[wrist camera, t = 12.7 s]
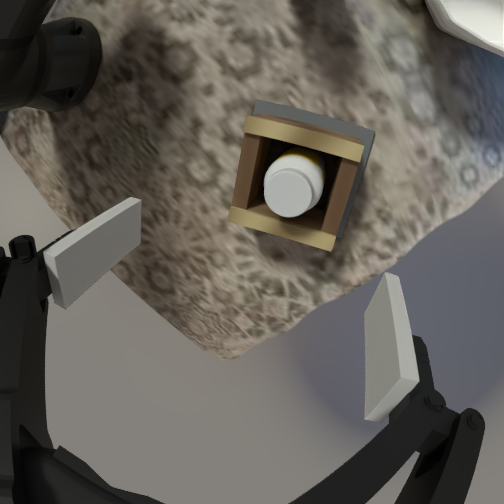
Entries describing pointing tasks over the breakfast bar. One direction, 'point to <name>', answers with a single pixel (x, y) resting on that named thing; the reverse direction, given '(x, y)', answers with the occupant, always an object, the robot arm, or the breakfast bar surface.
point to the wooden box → (253, 169)
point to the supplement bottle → (295, 181)
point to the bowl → (471, 21)
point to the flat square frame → (331, 124)
